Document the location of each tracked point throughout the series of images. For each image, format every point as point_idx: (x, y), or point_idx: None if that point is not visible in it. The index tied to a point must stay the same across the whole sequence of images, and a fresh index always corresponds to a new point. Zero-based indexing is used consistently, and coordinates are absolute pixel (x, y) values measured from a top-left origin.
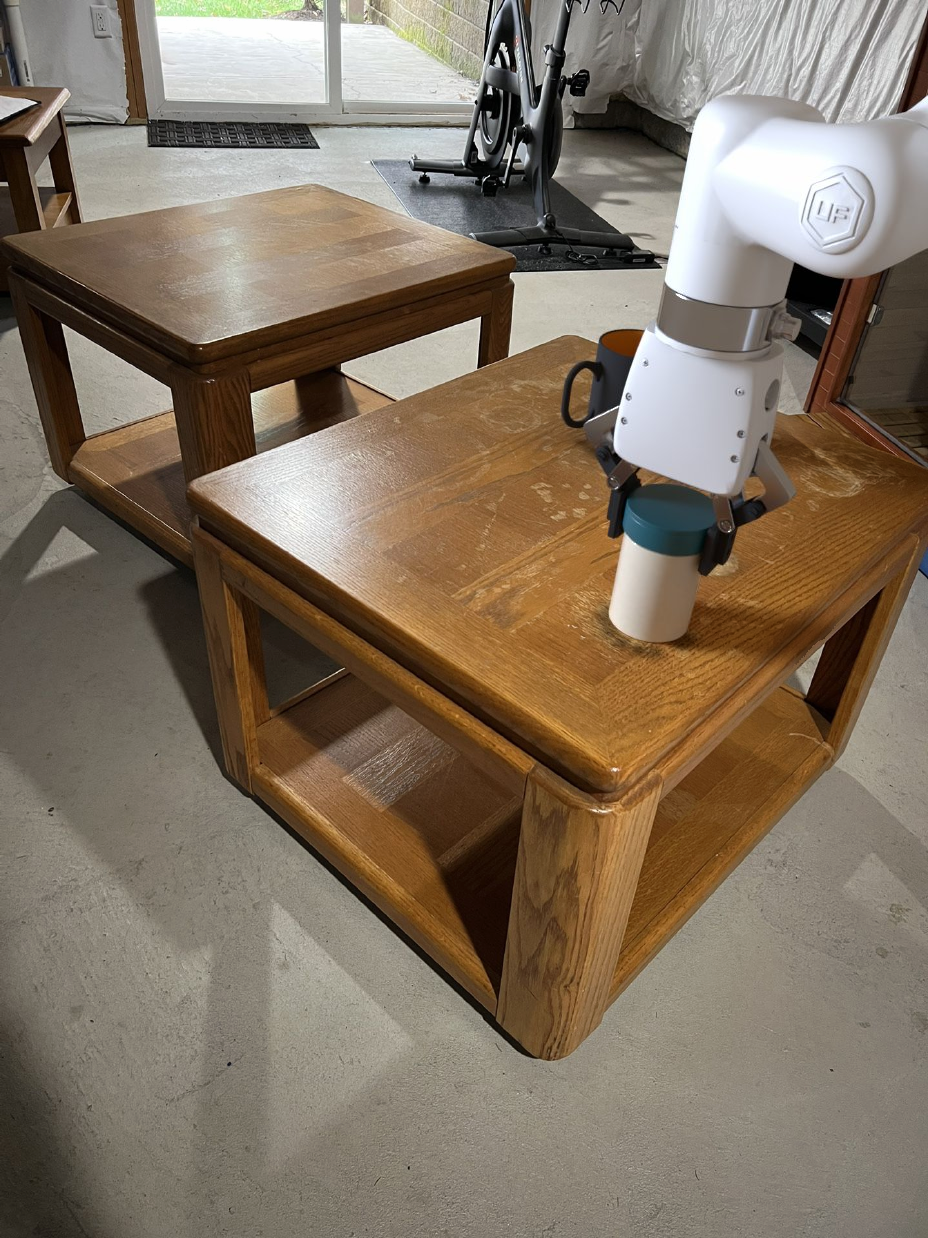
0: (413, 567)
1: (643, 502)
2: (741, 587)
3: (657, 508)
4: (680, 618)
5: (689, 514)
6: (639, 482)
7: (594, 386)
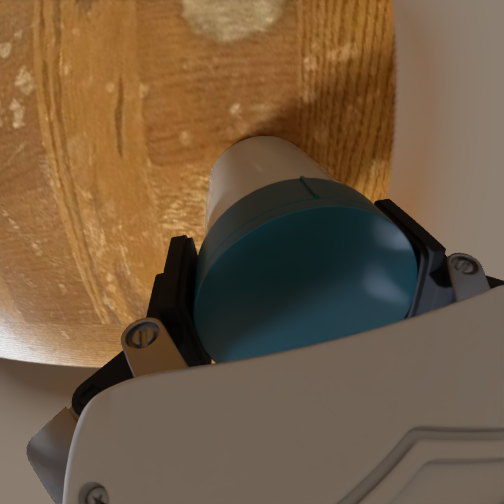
0: (51, 318)
1: (252, 352)
2: (315, 26)
3: (291, 347)
4: None
5: (359, 313)
6: (176, 304)
7: None
